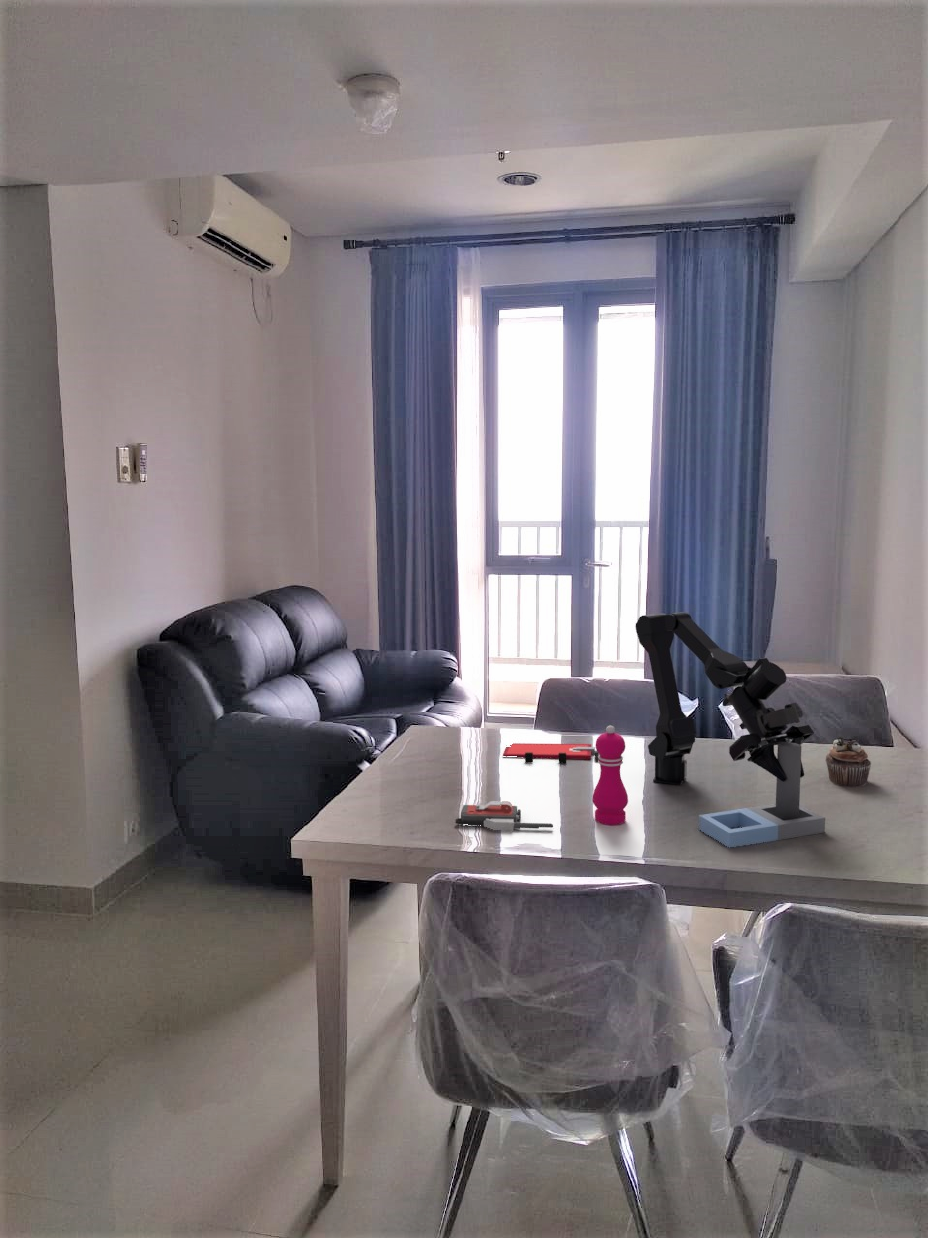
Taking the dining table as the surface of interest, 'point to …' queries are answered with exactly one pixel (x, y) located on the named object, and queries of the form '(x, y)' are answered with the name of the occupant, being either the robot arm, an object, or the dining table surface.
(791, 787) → the plug
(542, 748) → the red board with handle
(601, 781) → the pepper mill
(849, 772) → the cupcake
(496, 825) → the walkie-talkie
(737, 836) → the two-hole peg board
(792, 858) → the dining table surface
